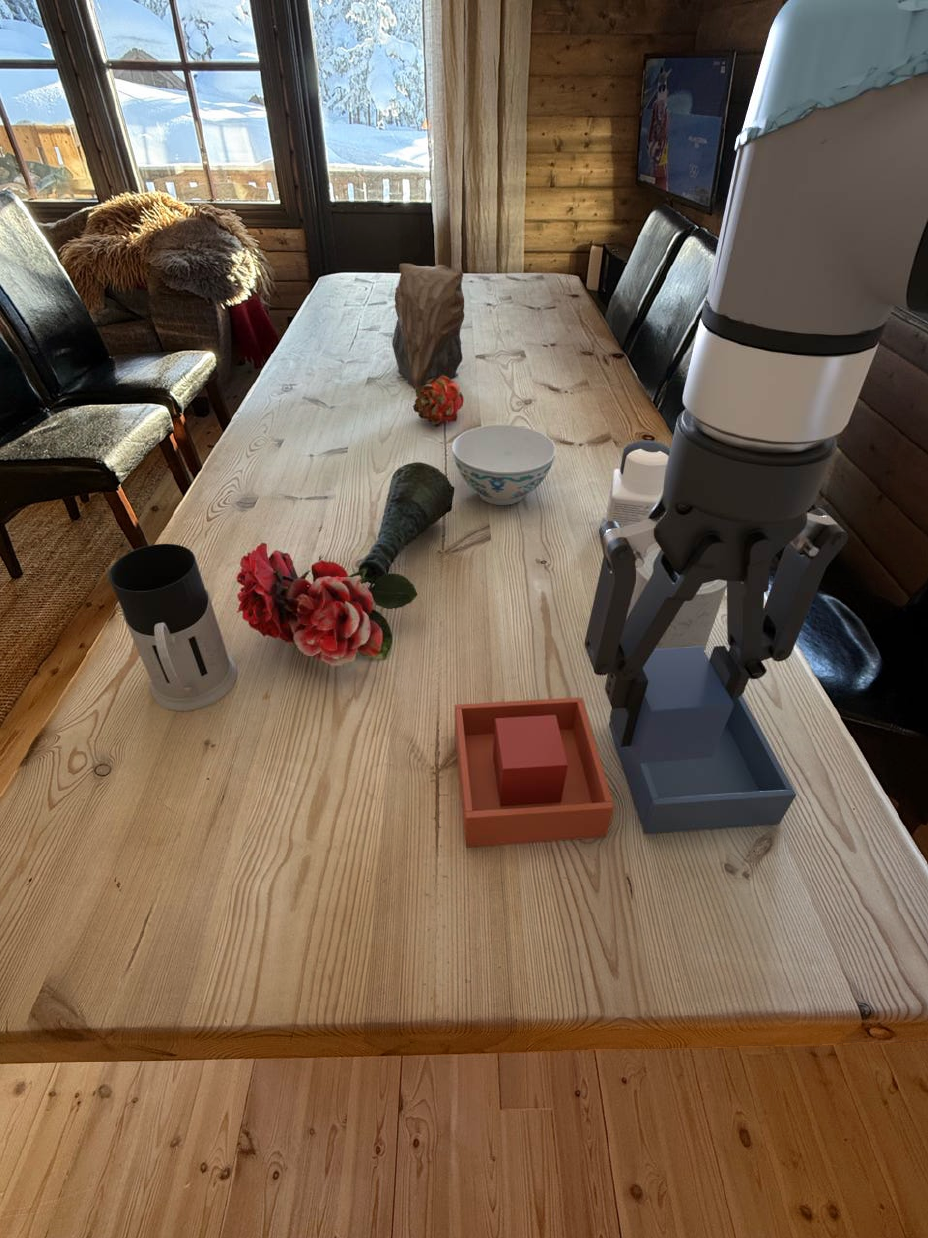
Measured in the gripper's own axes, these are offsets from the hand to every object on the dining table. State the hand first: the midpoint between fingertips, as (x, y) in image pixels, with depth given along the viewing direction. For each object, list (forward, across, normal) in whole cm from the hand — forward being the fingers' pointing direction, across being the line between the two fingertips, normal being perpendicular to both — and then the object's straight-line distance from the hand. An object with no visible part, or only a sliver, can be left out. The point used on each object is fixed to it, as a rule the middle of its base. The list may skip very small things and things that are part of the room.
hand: (662, 727), depth 47 cm
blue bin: (+15, -8, -6) cm, 18 cm away
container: (+15, -15, -46) cm, 50 cm away
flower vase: (+14, +23, -37) cm, 46 cm away
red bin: (+15, +8, -6) cm, 18 cm away
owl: (+14, +11, -106) cm, 108 cm away
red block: (+14, +8, -6) cm, 17 cm away
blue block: (0, 0, 0) cm, 0 cm away
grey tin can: (+15, -10, -22) cm, 28 cm away
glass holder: (+15, +40, -20) cm, 47 cm away
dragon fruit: (+14, +10, -86) cm, 87 cm away
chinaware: (+14, +2, -58) cm, 60 cm away
